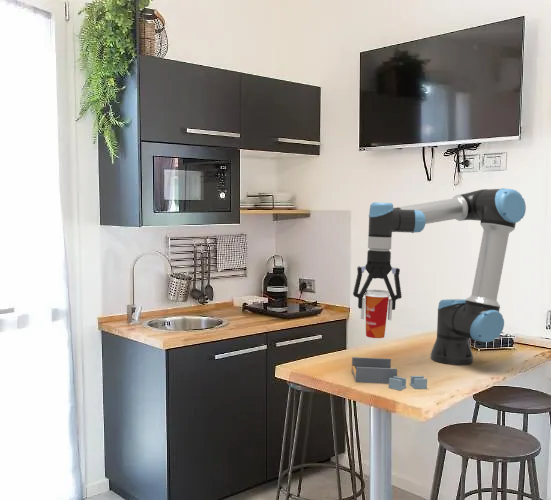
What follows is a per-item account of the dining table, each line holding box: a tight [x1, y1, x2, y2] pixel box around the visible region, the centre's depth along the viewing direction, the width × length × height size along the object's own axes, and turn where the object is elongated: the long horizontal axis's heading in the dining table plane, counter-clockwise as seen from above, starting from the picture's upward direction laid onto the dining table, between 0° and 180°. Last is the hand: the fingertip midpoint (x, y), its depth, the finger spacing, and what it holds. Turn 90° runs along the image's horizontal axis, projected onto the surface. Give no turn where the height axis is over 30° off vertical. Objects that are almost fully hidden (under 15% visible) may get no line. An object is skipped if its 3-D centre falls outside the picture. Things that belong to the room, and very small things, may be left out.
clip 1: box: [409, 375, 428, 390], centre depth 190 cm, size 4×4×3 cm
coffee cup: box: [364, 289, 391, 339], centre depth 198 cm, size 8×8×15 cm
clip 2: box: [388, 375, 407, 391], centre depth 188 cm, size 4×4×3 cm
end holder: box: [351, 356, 398, 385], centre depth 199 cm, size 13×14×5 cm
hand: (376, 318), depth 198 cm, fingers closed on coffee cup, 8 cm apart
